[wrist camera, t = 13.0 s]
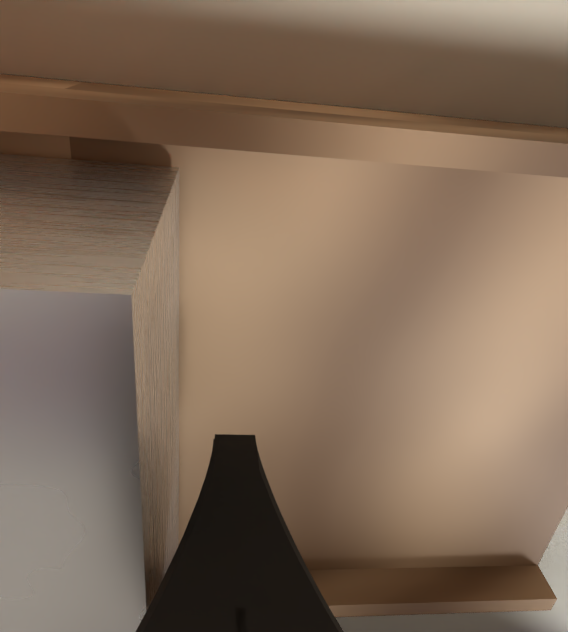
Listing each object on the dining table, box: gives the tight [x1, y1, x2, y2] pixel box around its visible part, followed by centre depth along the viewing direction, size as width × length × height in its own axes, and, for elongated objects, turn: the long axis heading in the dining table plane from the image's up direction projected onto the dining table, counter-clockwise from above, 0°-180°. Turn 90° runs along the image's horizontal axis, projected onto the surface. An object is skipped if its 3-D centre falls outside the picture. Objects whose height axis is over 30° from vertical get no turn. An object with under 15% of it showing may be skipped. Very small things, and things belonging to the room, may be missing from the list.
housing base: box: [0, 74, 568, 617], centre depth 11 cm, size 19×12×3 cm, turn 84°
